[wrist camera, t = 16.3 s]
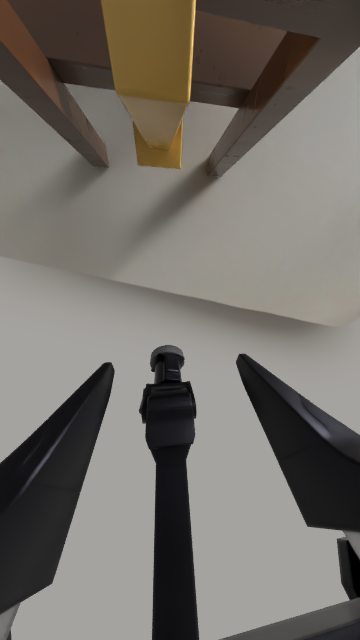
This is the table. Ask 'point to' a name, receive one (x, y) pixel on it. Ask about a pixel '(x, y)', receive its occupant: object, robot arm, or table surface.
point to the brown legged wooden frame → (207, 65)
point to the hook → (152, 71)
